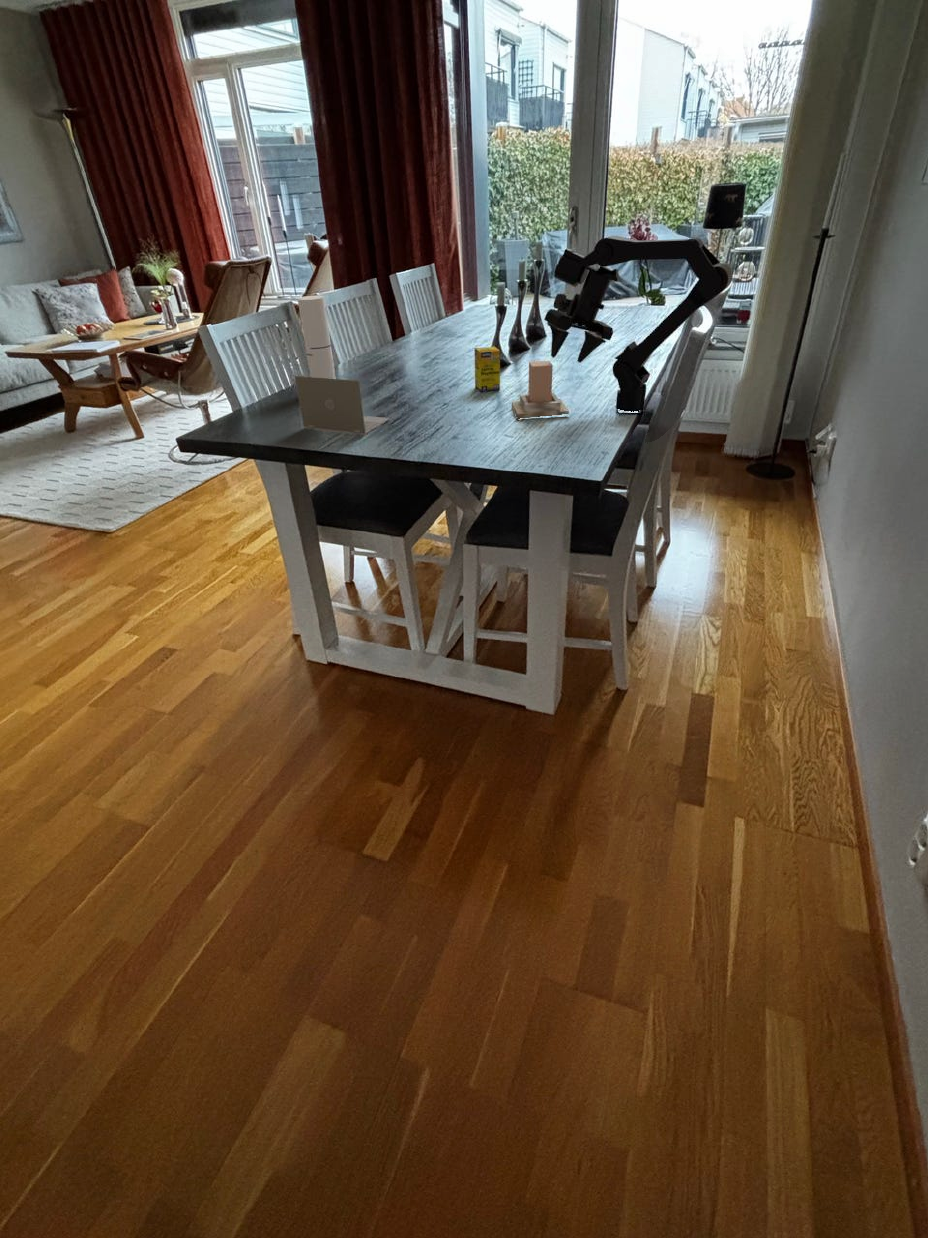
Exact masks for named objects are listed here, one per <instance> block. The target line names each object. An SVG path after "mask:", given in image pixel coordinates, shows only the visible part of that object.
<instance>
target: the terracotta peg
mask: <svg viewBox="0 0 928 1238" xmlns="http://www.w3.org/2000/svg"><path fill="white" fill-rule="evenodd" d="M553 371H554V370H553V364H552V363H551V361H549V360H537V361H536V360H535V361H529V362H528V391H527V392H528V393H527V394H528V403H538V402H551V394H552V393H553V392H552V391H553V390H552V387H553Z"/></svg>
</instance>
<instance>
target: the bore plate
mask: <svg viewBox="0 0 928 1238" xmlns="http://www.w3.org/2000/svg"><path fill="white" fill-rule="evenodd" d="M511 409H512V411H514V412H513V413H515V414H516V416H515V418H516V417H517V418H516V420H517V419H520V418H530V417H540V416H552V415H562V414H569V415H570V411H569V408H568V407H567V406H566V405H565V403H564V401H563V400H562V399H561V398H559V397H557V394H556V393H555V392H552V394H551V402H538V403H528V393H523V394H519V400H518V401H514V400H513V401H511ZM515 414H514V415H515Z"/></svg>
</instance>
